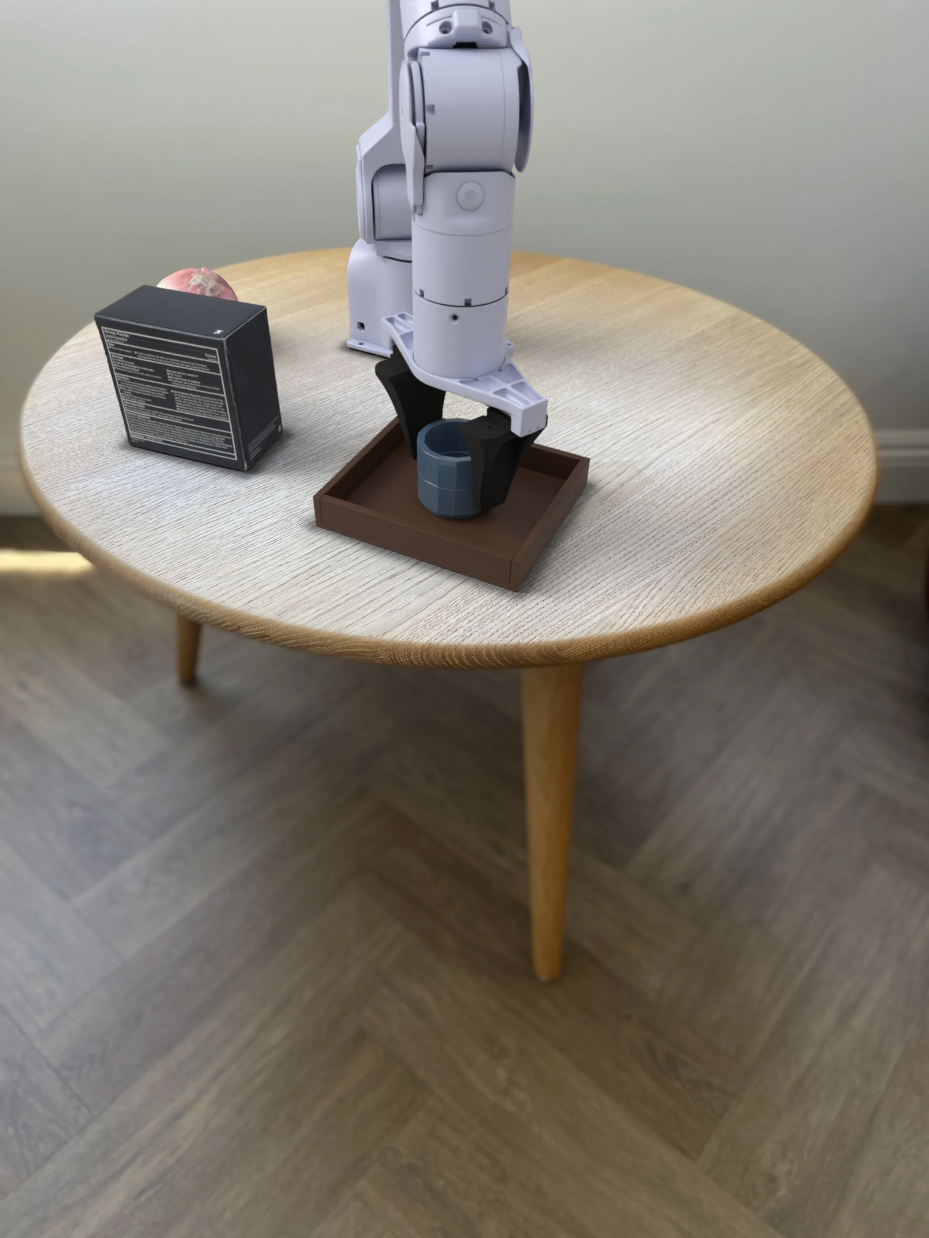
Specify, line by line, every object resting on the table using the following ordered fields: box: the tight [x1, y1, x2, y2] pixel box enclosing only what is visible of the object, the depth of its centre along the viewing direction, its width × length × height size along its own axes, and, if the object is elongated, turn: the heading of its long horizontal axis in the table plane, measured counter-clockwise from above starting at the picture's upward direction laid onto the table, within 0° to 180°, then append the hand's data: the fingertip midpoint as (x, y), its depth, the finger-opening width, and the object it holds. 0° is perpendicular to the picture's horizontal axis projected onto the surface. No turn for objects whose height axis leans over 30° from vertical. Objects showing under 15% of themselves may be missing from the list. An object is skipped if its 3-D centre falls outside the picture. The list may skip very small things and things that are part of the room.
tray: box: [312, 415, 591, 593], centre depth 61 cm, size 15×13×2 cm
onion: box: [156, 266, 239, 301], centre depth 76 cm, size 8×8×7 cm
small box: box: [93, 284, 284, 472], centre depth 64 cm, size 11×6×10 cm, turn 71°
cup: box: [417, 417, 482, 519], centre depth 60 cm, size 5×6×5 cm
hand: (456, 478), depth 61 cm, fingers open, 7 cm apart
